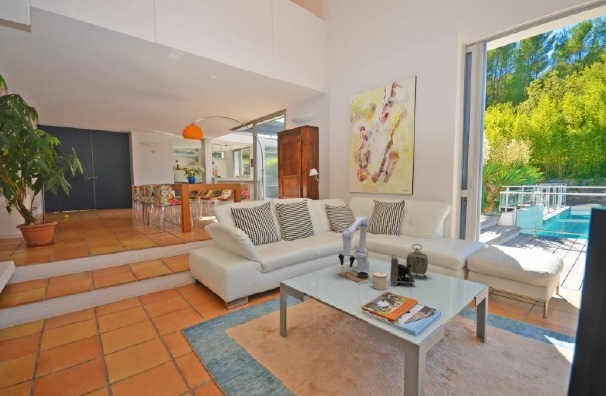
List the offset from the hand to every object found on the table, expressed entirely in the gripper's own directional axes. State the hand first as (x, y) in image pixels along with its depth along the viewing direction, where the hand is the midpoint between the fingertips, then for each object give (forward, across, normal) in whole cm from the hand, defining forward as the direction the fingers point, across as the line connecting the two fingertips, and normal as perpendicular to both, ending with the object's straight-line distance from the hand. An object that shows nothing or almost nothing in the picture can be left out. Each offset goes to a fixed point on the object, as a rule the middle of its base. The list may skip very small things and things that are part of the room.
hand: (346, 265), depth 203 cm
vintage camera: (+10, +35, +17) cm, 40 cm away
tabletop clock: (+9, +39, +38) cm, 55 cm away
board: (+10, +3, +8) cm, 13 cm away
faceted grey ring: (+8, +9, +9) cm, 15 cm away
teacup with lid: (+11, +24, +1) cm, 26 cm away
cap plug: (+9, -5, +5) cm, 11 cm away
